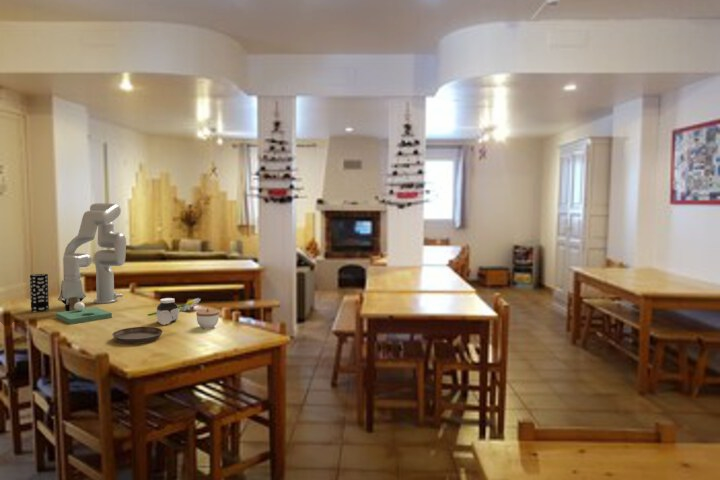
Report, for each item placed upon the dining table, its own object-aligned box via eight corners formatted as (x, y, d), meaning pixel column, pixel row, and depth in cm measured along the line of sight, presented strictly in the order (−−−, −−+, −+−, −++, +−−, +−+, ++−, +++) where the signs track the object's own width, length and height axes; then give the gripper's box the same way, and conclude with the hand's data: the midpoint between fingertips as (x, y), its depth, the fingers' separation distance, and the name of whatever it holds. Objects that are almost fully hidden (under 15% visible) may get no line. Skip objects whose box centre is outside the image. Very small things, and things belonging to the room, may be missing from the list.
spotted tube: (42, 312, 269) (41, 276, 268) (27, 311, 269) (26, 275, 268) (52, 308, 277) (51, 273, 276) (37, 308, 277) (36, 273, 276)
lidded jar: (223, 325, 246) (223, 307, 246) (210, 330, 236) (210, 311, 236) (205, 323, 250) (205, 305, 249) (191, 328, 240) (191, 309, 239)
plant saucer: (172, 335, 228) (172, 328, 228) (143, 347, 208) (142, 340, 208) (133, 331, 233) (133, 325, 233) (101, 343, 213) (101, 336, 213)
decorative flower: (152, 322, 261) (205, 307, 280) (150, 313, 260) (204, 299, 280) (144, 318, 271) (196, 305, 290) (142, 310, 270) (195, 297, 289)
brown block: (74, 311, 272) (74, 295, 271) (78, 313, 268) (77, 296, 268) (66, 312, 269) (66, 296, 268) (70, 314, 265) (69, 297, 265)
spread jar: (174, 318, 259) (173, 297, 259) (183, 322, 251) (183, 300, 251) (151, 322, 251) (150, 299, 250) (160, 326, 243) (159, 303, 242)
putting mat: (96, 311, 272) (96, 307, 272) (112, 317, 259) (111, 313, 259) (56, 317, 257) (55, 312, 257) (70, 324, 244) (70, 319, 244)
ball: (82, 309, 265) (82, 300, 265) (86, 311, 262) (86, 302, 262) (72, 311, 262) (72, 301, 261) (76, 312, 258) (76, 303, 258)
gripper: (85, 275, 276) (86, 307, 277) (51, 278, 263) (52, 312, 265) (90, 277, 271) (91, 309, 272) (56, 280, 258) (57, 314, 260)
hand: (72, 310), depth 268 cm, fingers closed on brown block, 4 cm apart
